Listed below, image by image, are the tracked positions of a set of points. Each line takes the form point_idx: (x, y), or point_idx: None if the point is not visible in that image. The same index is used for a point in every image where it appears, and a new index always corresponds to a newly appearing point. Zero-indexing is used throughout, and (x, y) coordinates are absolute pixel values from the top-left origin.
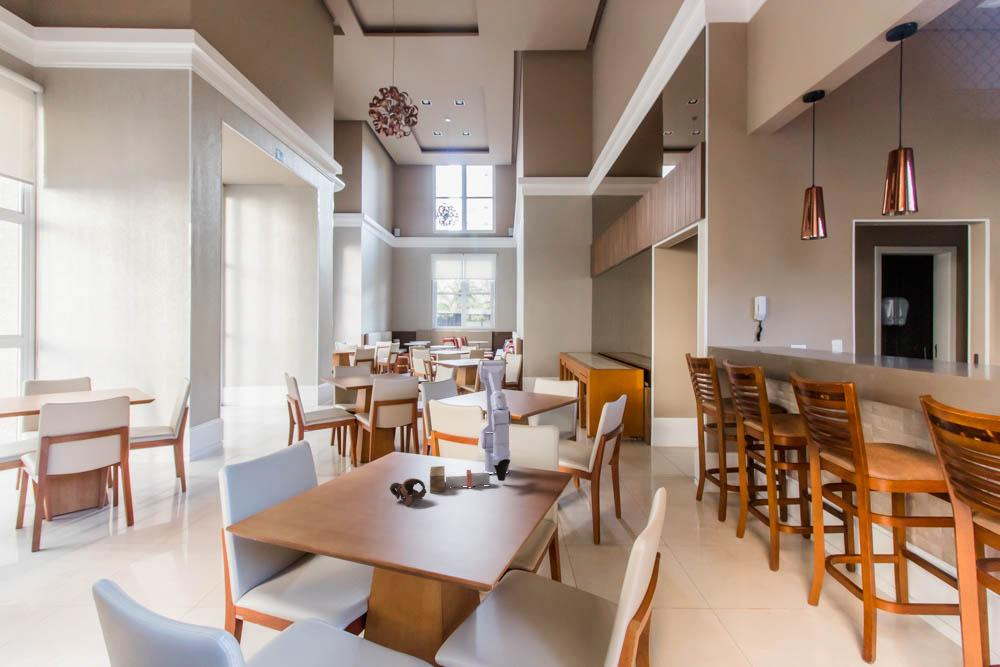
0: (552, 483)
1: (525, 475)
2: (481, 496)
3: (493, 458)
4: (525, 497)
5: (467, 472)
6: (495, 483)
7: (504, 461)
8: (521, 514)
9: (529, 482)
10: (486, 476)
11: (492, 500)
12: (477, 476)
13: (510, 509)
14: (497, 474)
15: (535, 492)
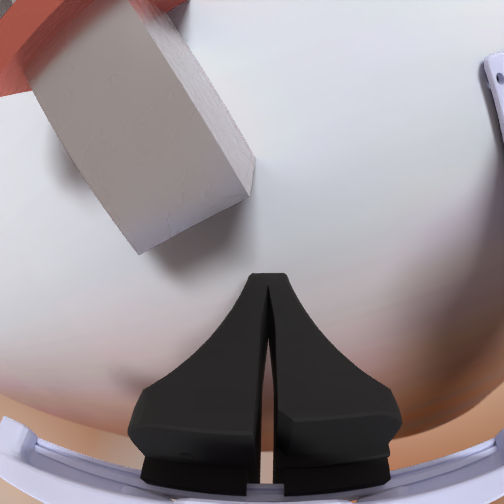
0: None
1: (477, 332)
2: (5, 236)
3: (28, 488)
4: (126, 401)
5: (12, 10)
6: (278, 217)
7: (273, 480)
8: (19, 387)
9: None
10: (121, 216)
11: (12, 302)
12: (58, 126)
13: (15, 365)
14: (234, 310)
15: None
